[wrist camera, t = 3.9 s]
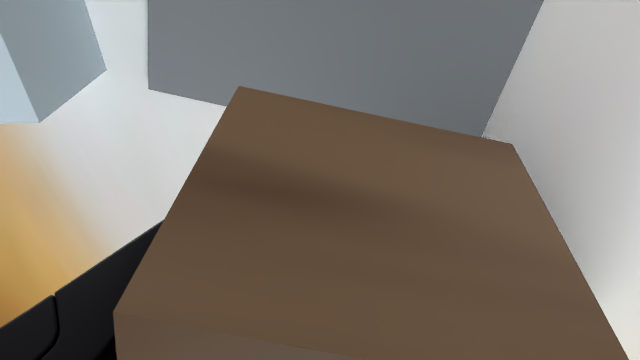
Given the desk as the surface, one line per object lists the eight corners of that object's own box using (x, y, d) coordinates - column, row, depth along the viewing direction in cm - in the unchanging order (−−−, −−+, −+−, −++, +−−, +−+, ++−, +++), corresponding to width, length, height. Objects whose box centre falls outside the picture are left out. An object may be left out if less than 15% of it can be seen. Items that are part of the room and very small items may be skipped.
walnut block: (423, 320, 11) (460, 586, 7) (218, 281, 11) (131, 532, 7) (512, 144, 8) (658, 414, 4) (238, 85, 8) (112, 311, 4)
